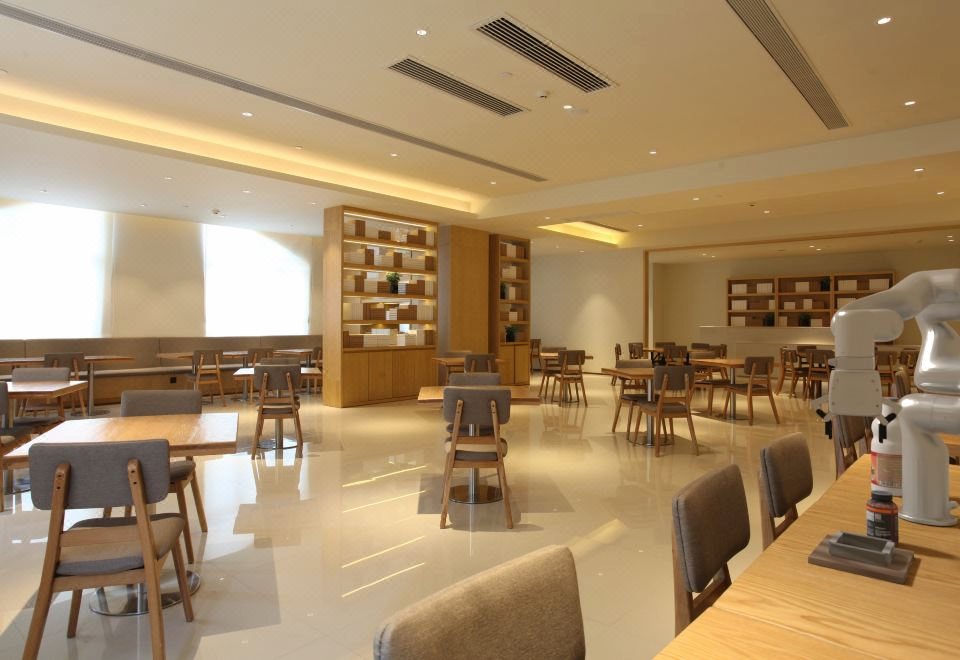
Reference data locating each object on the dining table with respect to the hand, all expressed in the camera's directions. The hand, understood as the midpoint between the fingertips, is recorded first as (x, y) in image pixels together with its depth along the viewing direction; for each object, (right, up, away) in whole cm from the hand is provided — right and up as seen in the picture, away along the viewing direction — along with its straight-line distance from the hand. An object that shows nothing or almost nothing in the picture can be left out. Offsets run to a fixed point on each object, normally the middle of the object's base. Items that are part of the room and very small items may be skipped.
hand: (855, 440), depth 133 cm
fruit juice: (+36, -23, +41) cm, 59 cm away
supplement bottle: (+6, -23, 0) cm, 24 cm away
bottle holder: (-5, -23, -11) cm, 26 cm away
